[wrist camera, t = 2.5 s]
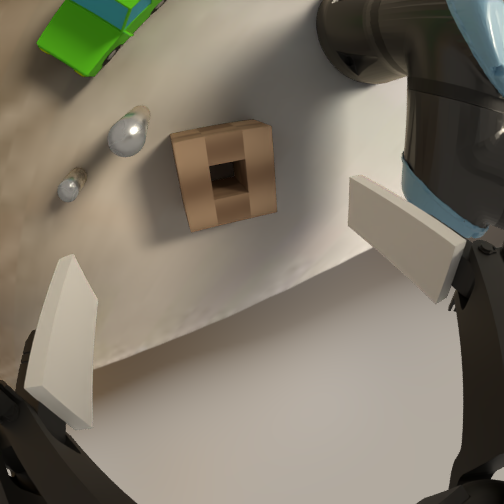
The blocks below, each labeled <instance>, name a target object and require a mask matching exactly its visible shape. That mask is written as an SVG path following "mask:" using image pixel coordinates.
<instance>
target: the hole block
mask: <svg viewBox="0 0 504 504" xmlns="http://www.w3.org/2000/svg"><path fill="white" fill-rule="evenodd" d="M170 137H171V143H172V148H173V154H174V159H175V164H176V169H177V175H178V180H179V184H180V189H181V194H182V199H183V204H184V208H185V212H186V216H187V220H188V223H189V227H190V230H191V232H195V231H199V230H203V229H207V228H211V227H215V226H219V225H223V224H228V223H232V222H236V221H240V220H244V219H249V218H253V217H257V216H262V215H266V214H270V213H275V212H277V202H276V185H275V169H274V154H273V140H272V126H270V125H267V124H264V123H262V122H259V121H256V120H254V119H252V120H244V121H237V122H231V123H224V124H218V125H213V126H207V127H202V128H197V129H191V130H187V131H182V132H177V133H173V134H170ZM232 161H233V168H234V176H233V177H228V178H223V179H218V180H213V181H211V177H210V170H209V166H212V165H217V164H222V163H227V162H232Z"/></svg>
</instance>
